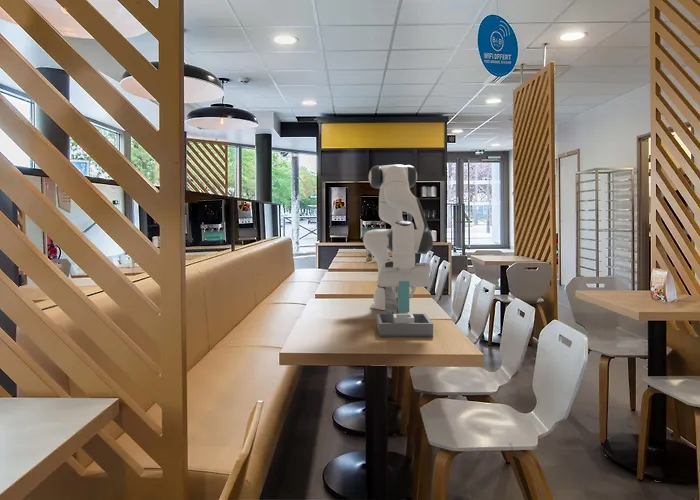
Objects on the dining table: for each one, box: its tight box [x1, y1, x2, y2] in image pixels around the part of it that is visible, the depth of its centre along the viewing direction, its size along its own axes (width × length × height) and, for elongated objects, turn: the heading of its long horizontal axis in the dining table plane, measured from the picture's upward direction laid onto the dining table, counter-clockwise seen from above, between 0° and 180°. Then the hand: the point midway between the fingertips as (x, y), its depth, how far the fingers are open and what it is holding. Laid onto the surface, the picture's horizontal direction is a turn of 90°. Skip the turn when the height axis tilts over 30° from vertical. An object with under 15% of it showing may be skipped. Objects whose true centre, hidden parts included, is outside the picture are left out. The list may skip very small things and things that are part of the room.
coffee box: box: [384, 287, 409, 314], centre depth 213 cm, size 9×6×16 cm
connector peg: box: [398, 281, 410, 313], centre depth 192 cm, size 4×4×12 cm
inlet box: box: [376, 313, 434, 338], centre depth 192 cm, size 20×20×6 cm
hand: (403, 298), depth 192 cm, fingers closed on connector peg, 4 cm apart
